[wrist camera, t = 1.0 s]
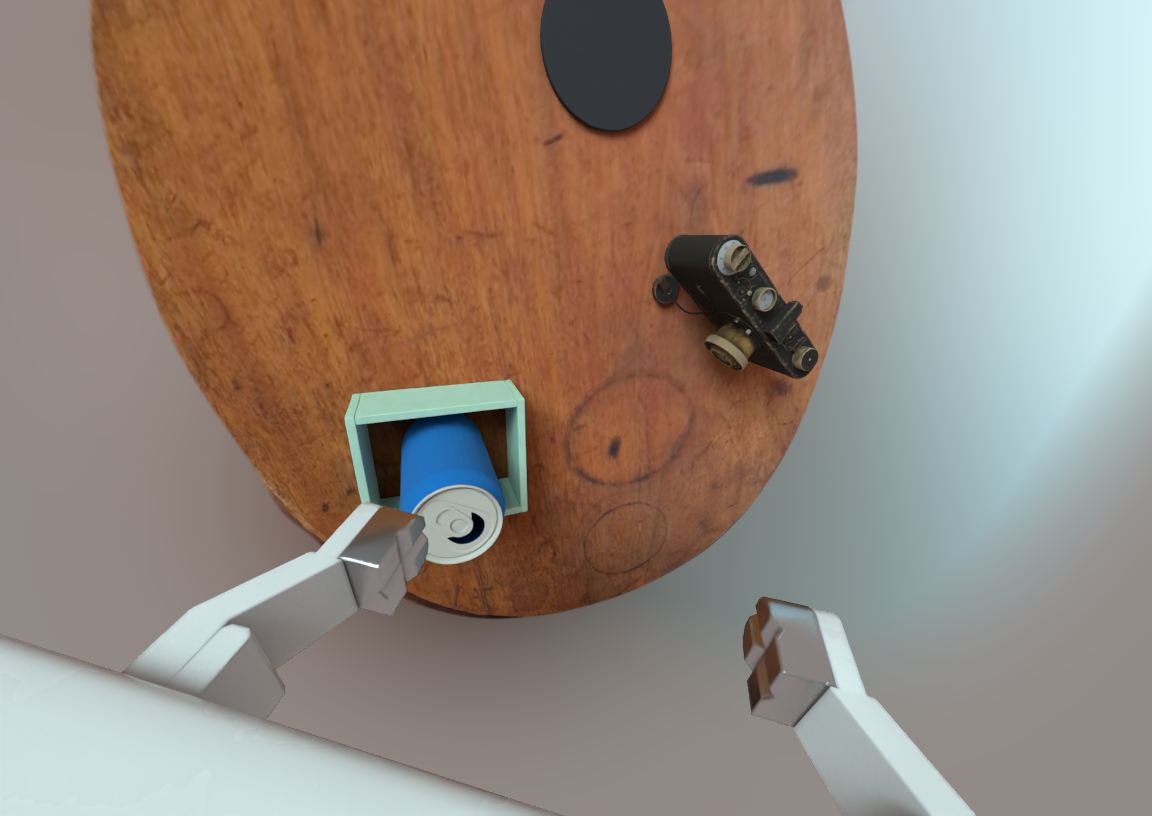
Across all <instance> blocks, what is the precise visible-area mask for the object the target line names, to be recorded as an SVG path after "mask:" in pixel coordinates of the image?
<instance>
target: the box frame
mask: <svg viewBox="0 0 1152 816" xmlns="http://www.w3.org/2000/svg"><path fill="white" fill-rule="evenodd" d="M502 408H505V417H506V439H507V461H508V477H507V478H501V479H498V481H499V484H500V487H501V489H502V492H503V495H504V498H505V515H504V516H506V515H511V514H516V513H520V512H526V511H527V510H528V508H527V470H526V432H525V399H524V398H523V396H522V395H521V394H520V392H519V391H518V389H517V388H516V387H515V385H514V384H513V383H512V381H511V380H501V381H490V382H479V383H468V384H457V385H446V386H435V387H424V388H413V389H402V390H391V391H380V392H369V393H362V394H361V393H358V394H353V395H352V398H351V401H350V404H349V407H348V410H347V413H346V416H345V424H346V429H347V434H348V439H349V444H350V449H351V454H352V459H353V464H354V469H355V474H356V479H357V484H358V488H359V493H360V498H361V503H362V504H363V503H365V502H369V503H374V504H378V505H382V506H386V507H389V508H393V509H397V510H400V496H395V497H389V498H384V499H380V494H379V488H378V483H377V477H376V472H375V466H374V461H373V455H372V450H371V444H370V439H369V433H368V428H367V424H370V423H379V422H388V421H397V420H405V419H414V418H423V417H432V416H441V415H449V414H458V413H467V412H476V411H485V410H493V409H502Z"/></svg>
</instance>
